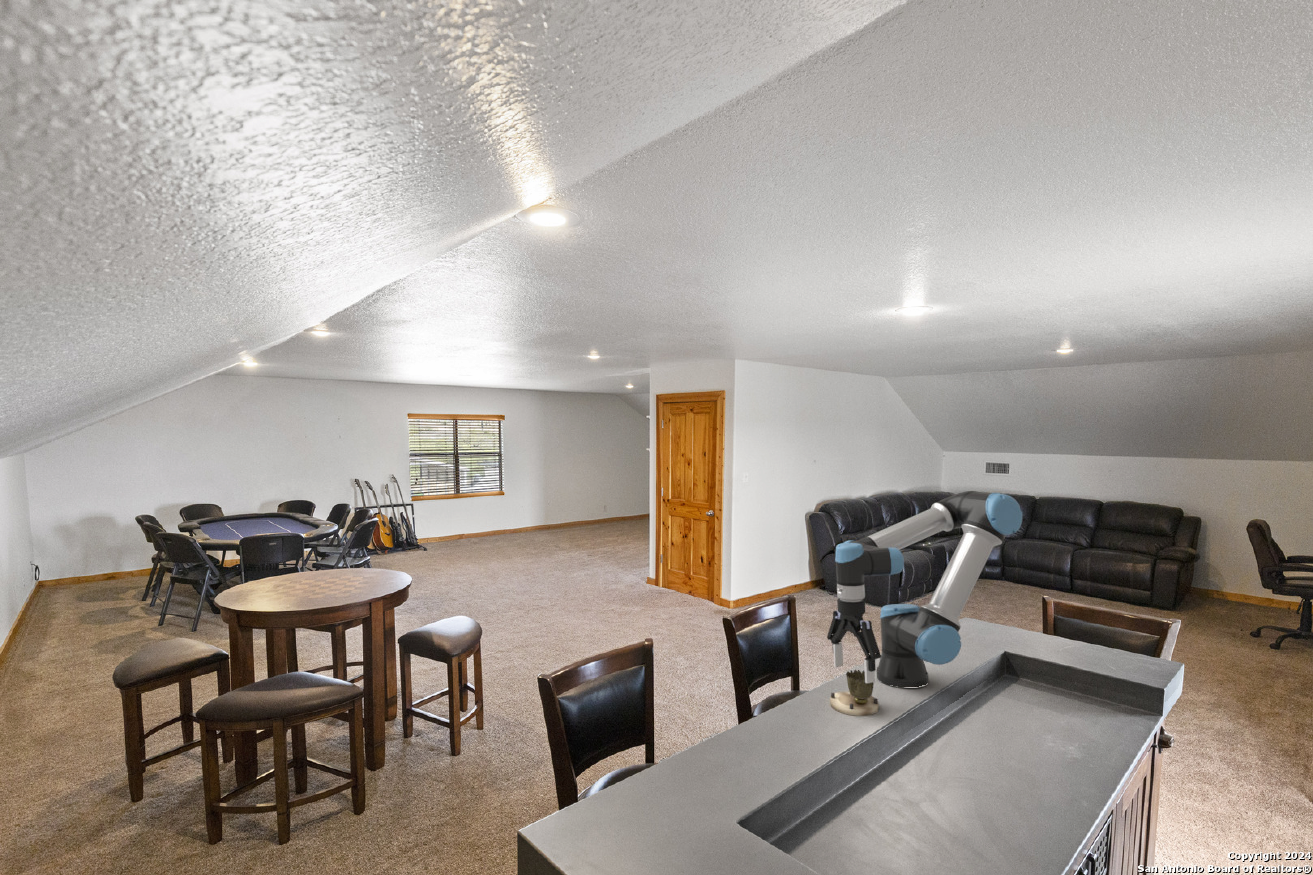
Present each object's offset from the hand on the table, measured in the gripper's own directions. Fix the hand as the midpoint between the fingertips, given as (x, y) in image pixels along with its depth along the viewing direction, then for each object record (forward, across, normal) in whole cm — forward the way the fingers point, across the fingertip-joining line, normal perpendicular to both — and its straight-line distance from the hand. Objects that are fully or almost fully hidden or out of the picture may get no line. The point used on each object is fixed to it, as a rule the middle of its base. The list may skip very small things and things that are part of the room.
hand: (853, 674), depth 177 cm
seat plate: (+9, 0, 0) cm, 9 cm away
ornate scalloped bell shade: (+8, +2, 0) cm, 8 cm away
